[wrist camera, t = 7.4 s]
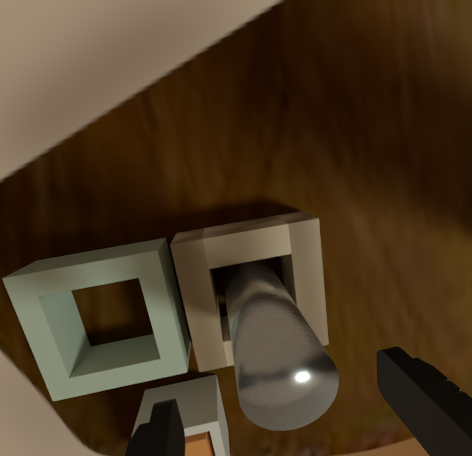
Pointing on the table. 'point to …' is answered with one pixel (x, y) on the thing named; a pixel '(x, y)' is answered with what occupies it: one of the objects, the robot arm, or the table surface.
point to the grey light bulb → (275, 351)
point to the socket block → (240, 251)
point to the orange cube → (199, 445)
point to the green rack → (72, 330)
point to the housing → (192, 409)
